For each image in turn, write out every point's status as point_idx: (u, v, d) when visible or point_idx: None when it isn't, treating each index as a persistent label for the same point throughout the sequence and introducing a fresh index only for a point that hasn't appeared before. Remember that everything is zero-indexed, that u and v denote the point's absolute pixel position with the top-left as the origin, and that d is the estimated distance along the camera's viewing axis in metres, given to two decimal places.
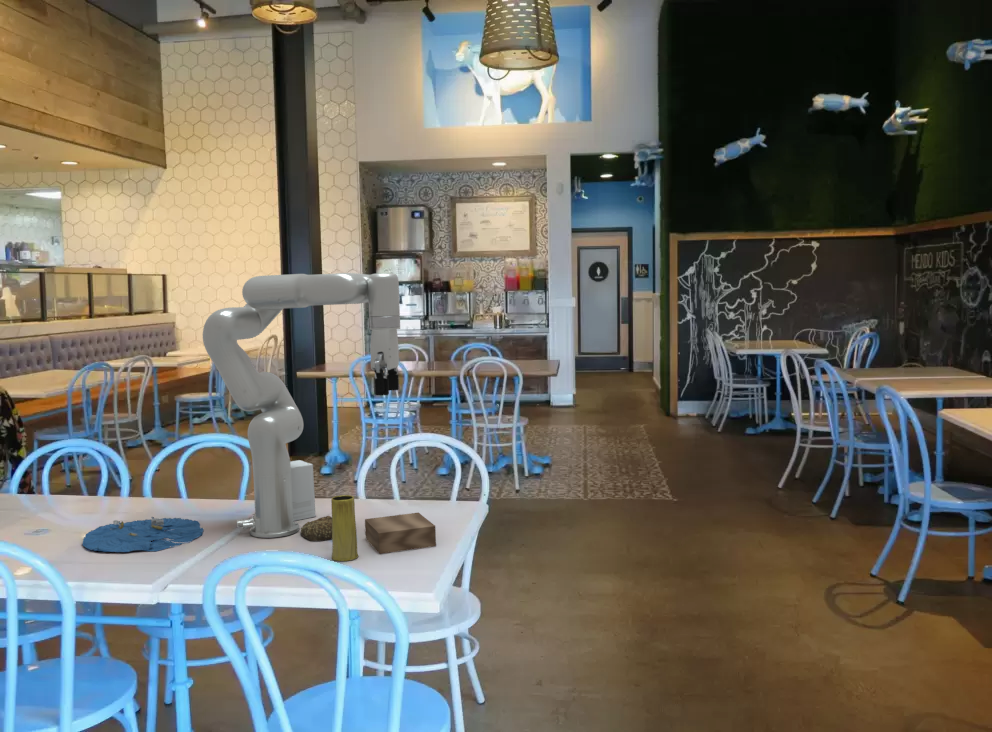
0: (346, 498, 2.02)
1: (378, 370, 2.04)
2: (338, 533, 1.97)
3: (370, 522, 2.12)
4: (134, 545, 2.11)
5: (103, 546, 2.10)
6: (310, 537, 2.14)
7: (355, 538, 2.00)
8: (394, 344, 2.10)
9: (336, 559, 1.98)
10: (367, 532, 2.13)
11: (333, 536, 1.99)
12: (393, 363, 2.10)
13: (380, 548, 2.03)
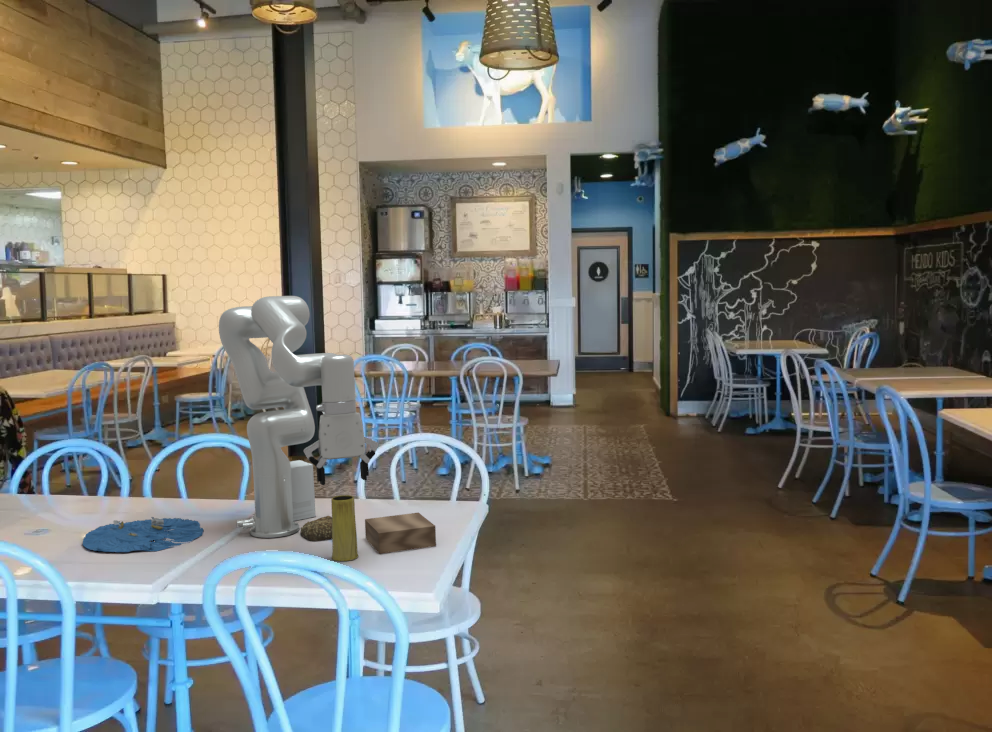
0: (346, 498, 2.02)
1: None
2: (338, 533, 1.97)
3: (370, 522, 2.12)
4: (134, 545, 2.11)
5: (103, 546, 2.10)
6: (310, 537, 2.14)
7: (355, 538, 2.00)
8: None
9: (336, 559, 1.98)
10: (367, 532, 2.13)
11: (333, 536, 1.99)
12: None
13: (380, 548, 2.03)
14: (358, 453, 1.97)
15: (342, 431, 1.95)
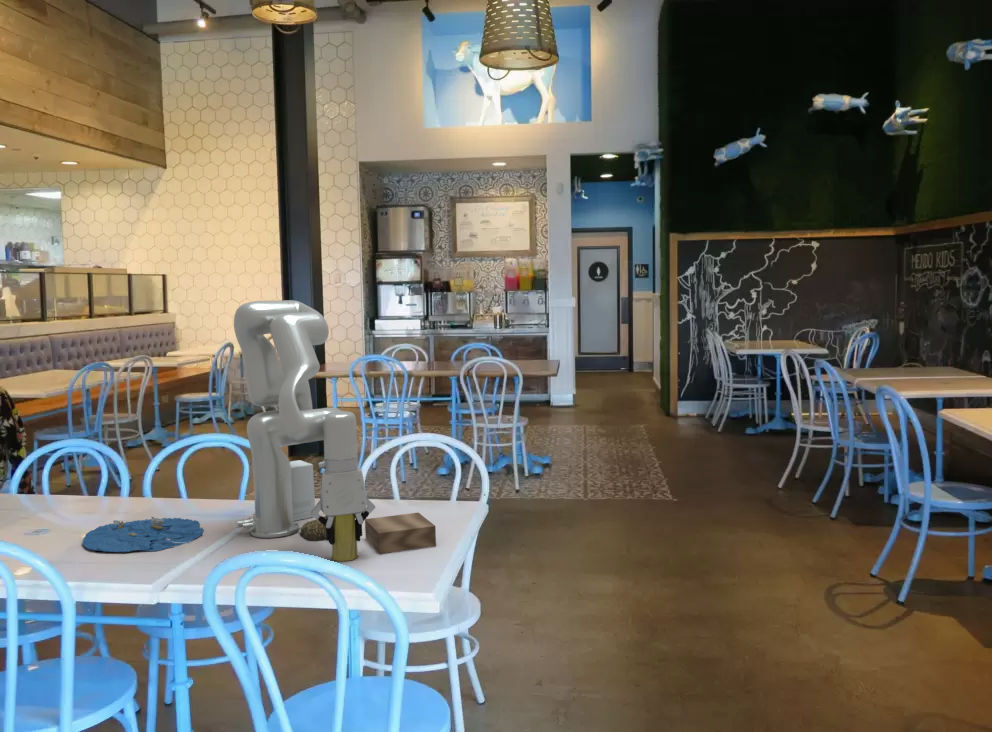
0: None
1: None
2: (338, 533, 1.97)
3: (370, 522, 2.12)
4: (134, 545, 2.11)
5: (103, 546, 2.10)
6: (310, 537, 2.15)
7: (355, 538, 2.00)
8: None
9: (336, 559, 1.98)
10: (367, 532, 2.13)
11: None
12: None
13: (380, 548, 2.03)
14: (359, 510, 1.98)
15: (343, 488, 1.96)
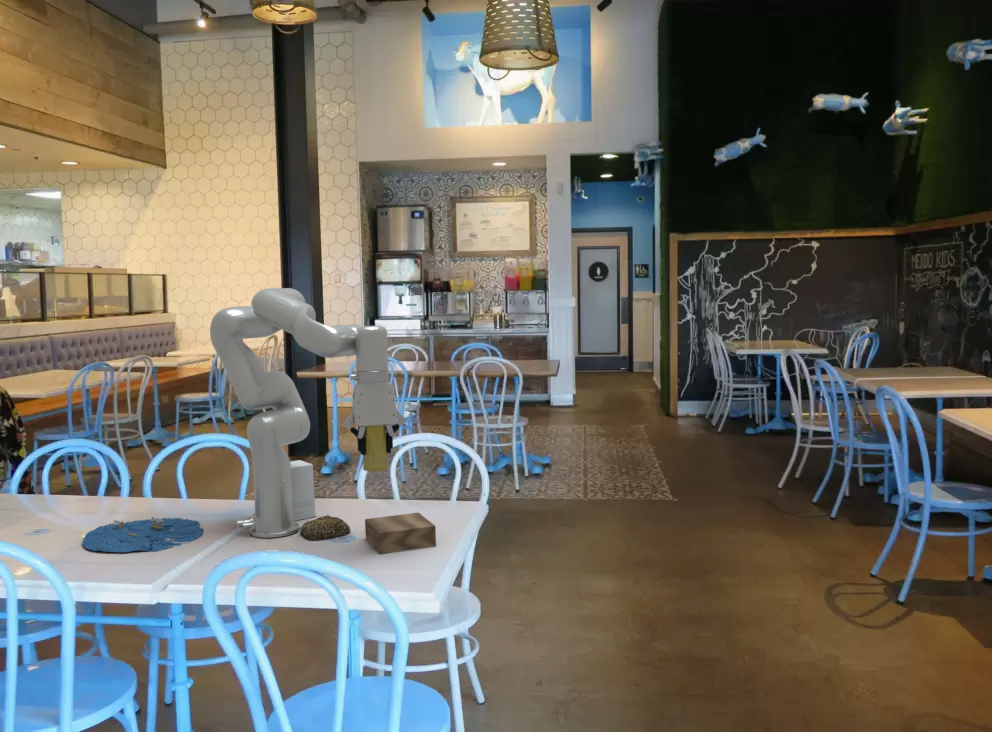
0: None
1: None
2: (369, 444, 2.02)
3: (370, 522, 2.12)
4: (134, 545, 2.11)
5: (103, 546, 2.10)
6: (309, 536, 2.15)
7: (386, 450, 2.04)
8: None
9: (367, 469, 2.03)
10: (367, 532, 2.13)
11: None
12: None
13: (380, 548, 2.03)
14: (390, 421, 2.03)
15: (375, 400, 2.01)
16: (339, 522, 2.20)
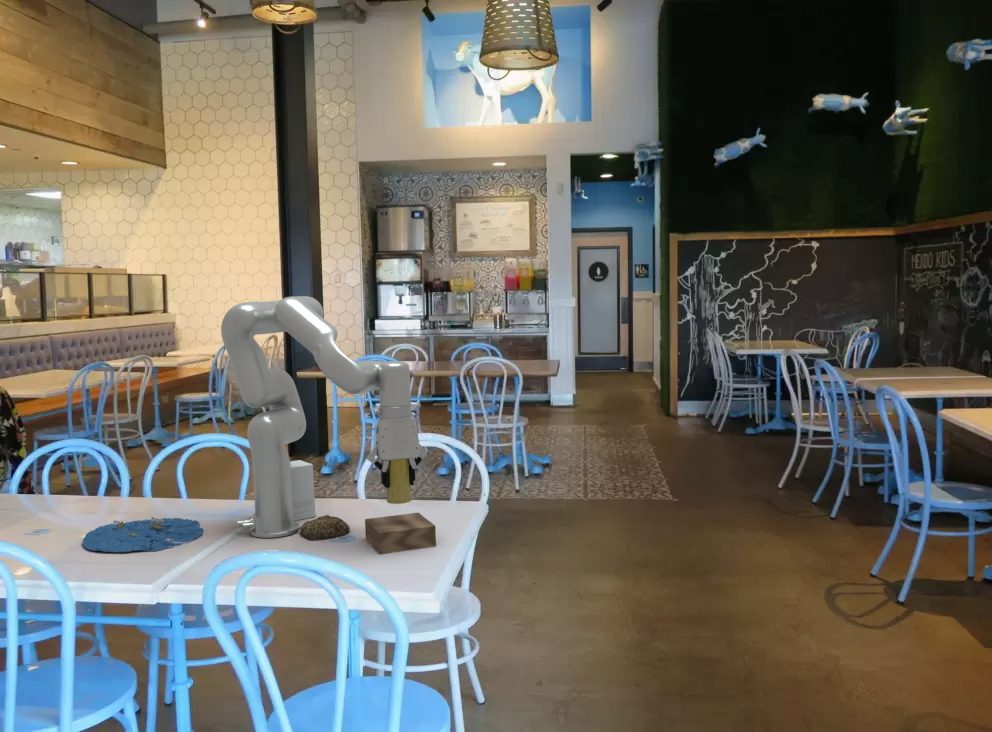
0: None
1: None
2: (393, 477, 2.08)
3: (370, 522, 2.12)
4: (134, 545, 2.11)
5: (103, 546, 2.10)
6: (309, 536, 2.15)
7: (409, 482, 2.10)
8: None
9: (391, 502, 2.08)
10: (367, 532, 2.13)
11: None
12: None
13: (380, 548, 2.03)
14: (413, 455, 2.08)
15: (398, 434, 2.07)
16: (339, 522, 2.20)
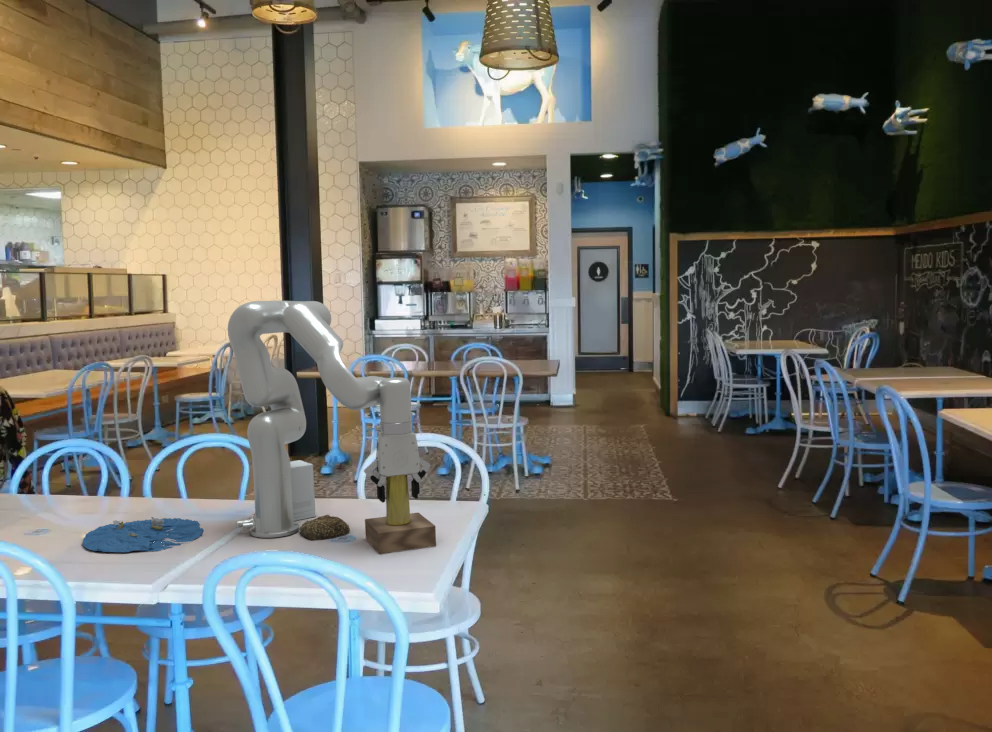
0: None
1: None
2: (392, 499, 2.08)
3: (370, 522, 2.12)
4: (134, 545, 2.11)
5: (103, 546, 2.10)
6: (309, 536, 2.15)
7: (408, 504, 2.10)
8: None
9: (390, 523, 2.09)
10: (367, 532, 2.13)
11: (387, 502, 2.09)
12: None
13: (380, 548, 2.03)
14: (413, 471, 2.09)
15: (399, 450, 2.07)
16: (339, 522, 2.20)
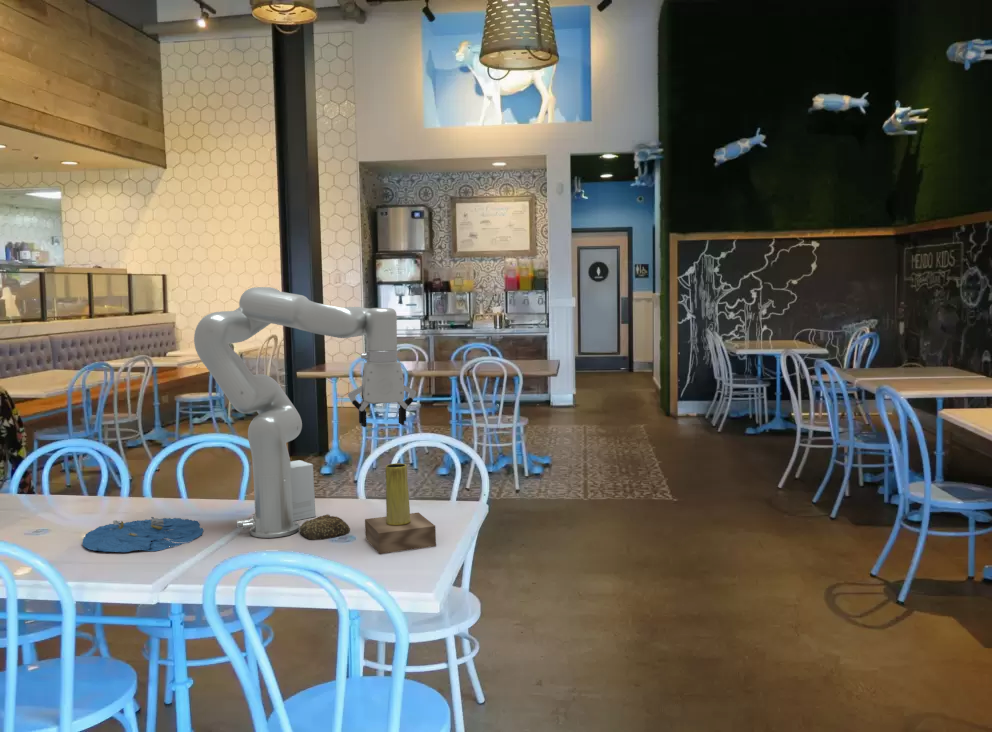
0: (399, 466, 2.12)
1: None
2: (392, 499, 2.08)
3: (370, 522, 2.12)
4: (134, 545, 2.11)
5: (103, 546, 2.10)
6: (309, 536, 2.15)
7: (408, 504, 2.10)
8: None
9: (390, 523, 2.09)
10: (367, 532, 2.13)
11: (387, 502, 2.09)
12: None
13: (380, 548, 2.03)
14: (397, 399, 2.14)
15: (383, 378, 2.12)
16: (338, 521, 2.20)
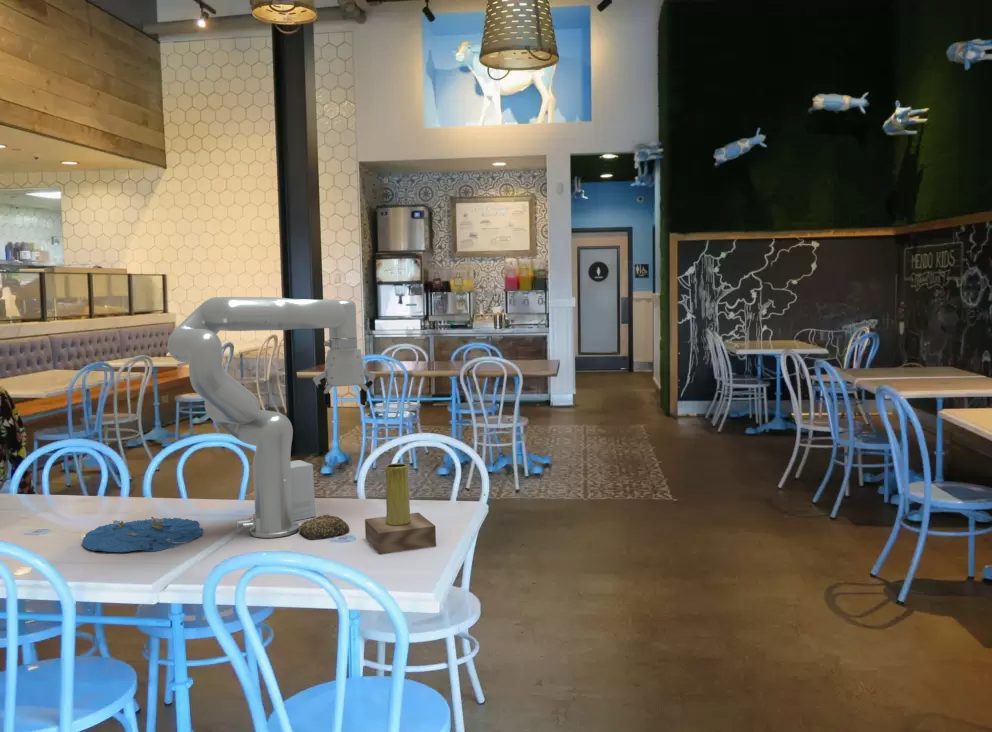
0: (399, 466, 2.12)
1: None
2: (392, 499, 2.08)
3: (370, 522, 2.12)
4: (134, 545, 2.11)
5: (103, 546, 2.10)
6: (309, 535, 2.16)
7: (408, 504, 2.10)
8: None
9: (390, 523, 2.09)
10: (367, 532, 2.13)
11: (387, 502, 2.09)
12: None
13: (380, 548, 2.03)
14: (358, 382, 2.37)
15: (345, 363, 2.35)
16: (338, 521, 2.20)
